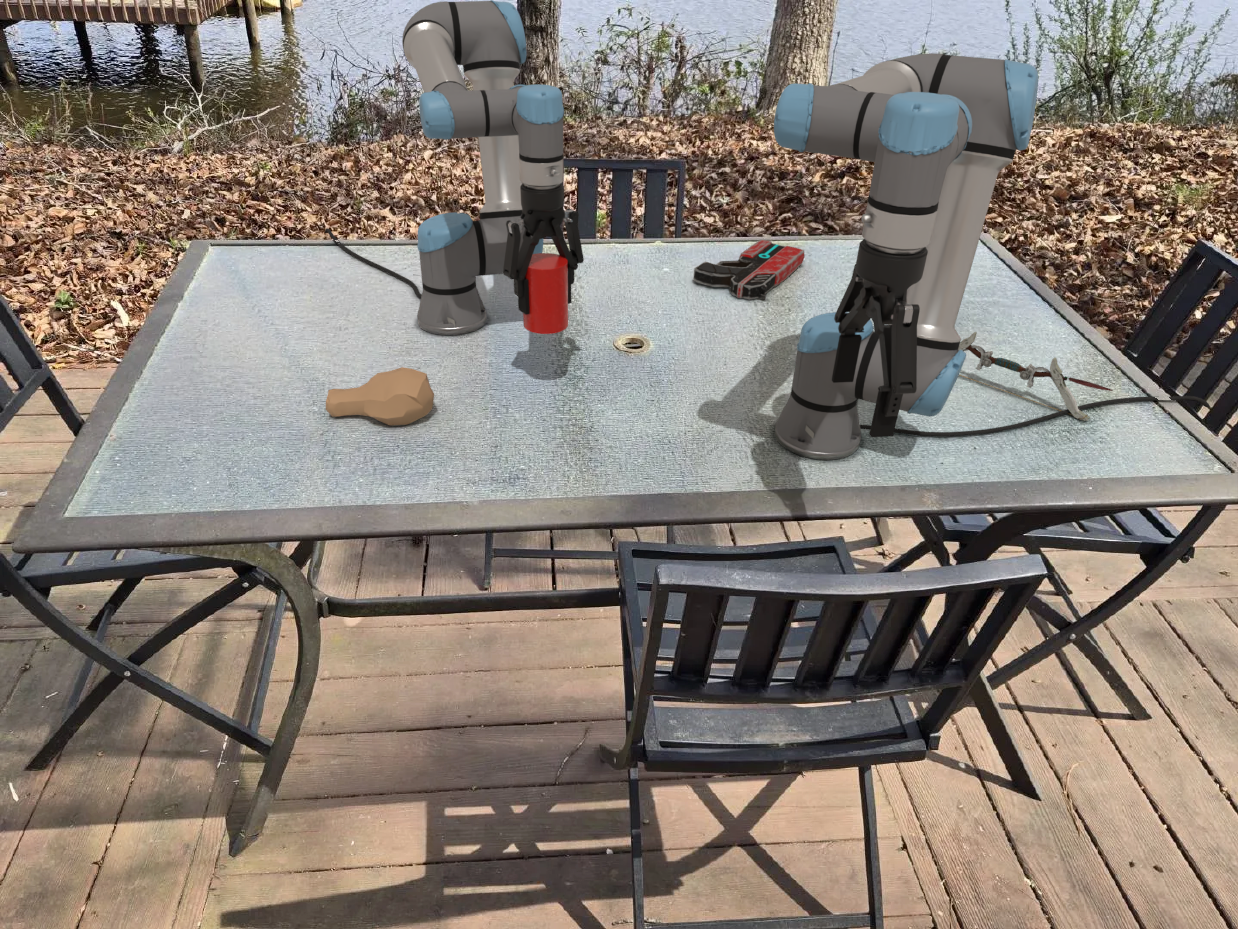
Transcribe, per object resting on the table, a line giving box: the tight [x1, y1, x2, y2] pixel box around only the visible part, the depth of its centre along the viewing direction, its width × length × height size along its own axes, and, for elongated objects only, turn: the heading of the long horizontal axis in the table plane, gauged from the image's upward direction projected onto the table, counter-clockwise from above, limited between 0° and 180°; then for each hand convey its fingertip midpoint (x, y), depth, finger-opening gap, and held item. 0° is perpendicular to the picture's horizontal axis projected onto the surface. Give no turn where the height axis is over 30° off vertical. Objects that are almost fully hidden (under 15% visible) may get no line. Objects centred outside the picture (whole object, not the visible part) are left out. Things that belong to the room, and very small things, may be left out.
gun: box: [692, 239, 806, 301], centre depth 223 cm, size 4×31×19 cm
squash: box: [325, 366, 435, 427], centre depth 160 cm, size 11×20×9 cm, turn 90°
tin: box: [522, 252, 569, 335], centre depth 162 cm, size 8×8×12 cm
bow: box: [958, 331, 1114, 422], centre depth 173 cm, size 39×2×10 cm, turn 47°
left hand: (545, 306), depth 163 cm, fingers closed on tin, 8 cm apart
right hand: (860, 406), depth 110 cm, fingers open, 13 cm apart
